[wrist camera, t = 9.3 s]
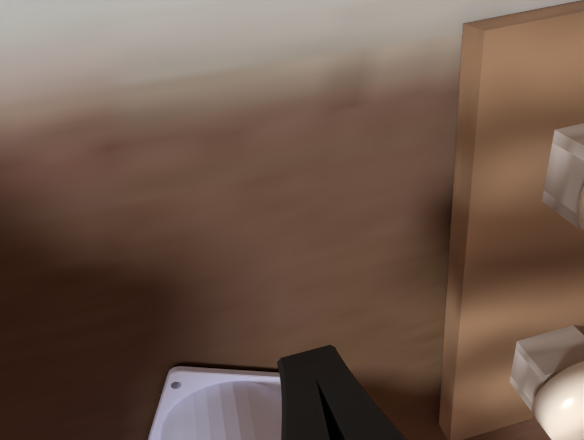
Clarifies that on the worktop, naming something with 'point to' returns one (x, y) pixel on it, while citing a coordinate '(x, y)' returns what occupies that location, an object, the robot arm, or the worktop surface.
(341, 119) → the worktop surface
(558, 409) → the plunger
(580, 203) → the plunger
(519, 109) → the stand
